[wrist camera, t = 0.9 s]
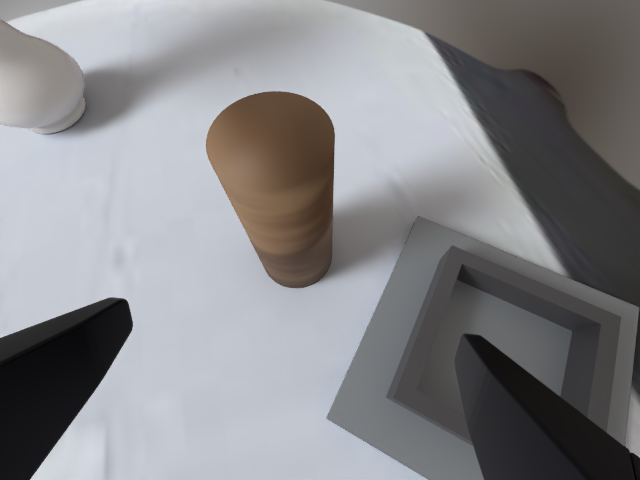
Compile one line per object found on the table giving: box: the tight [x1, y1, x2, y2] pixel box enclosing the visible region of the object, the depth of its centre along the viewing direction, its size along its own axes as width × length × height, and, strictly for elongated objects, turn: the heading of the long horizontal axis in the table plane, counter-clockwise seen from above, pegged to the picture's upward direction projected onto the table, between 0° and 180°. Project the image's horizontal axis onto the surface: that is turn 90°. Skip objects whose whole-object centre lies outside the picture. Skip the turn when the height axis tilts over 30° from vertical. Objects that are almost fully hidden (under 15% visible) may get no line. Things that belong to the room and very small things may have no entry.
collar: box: [327, 216, 639, 480], centre depth 20 cm, size 16×16×4 cm
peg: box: [206, 92, 335, 288], centre depth 19 cm, size 6×6×13 cm
